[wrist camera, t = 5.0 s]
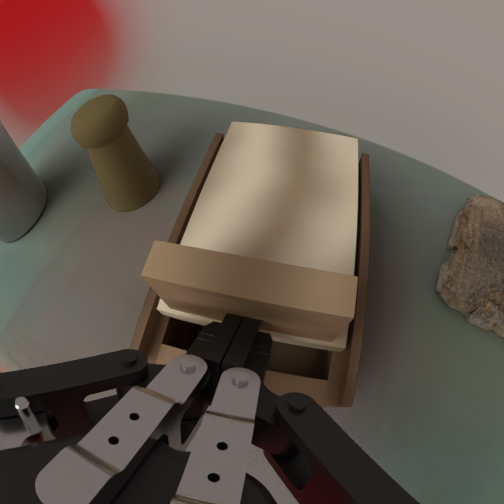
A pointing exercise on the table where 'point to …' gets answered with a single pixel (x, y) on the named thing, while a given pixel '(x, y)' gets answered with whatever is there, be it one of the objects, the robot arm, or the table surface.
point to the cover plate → (269, 238)
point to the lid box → (282, 354)
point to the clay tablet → (476, 264)
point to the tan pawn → (115, 153)
